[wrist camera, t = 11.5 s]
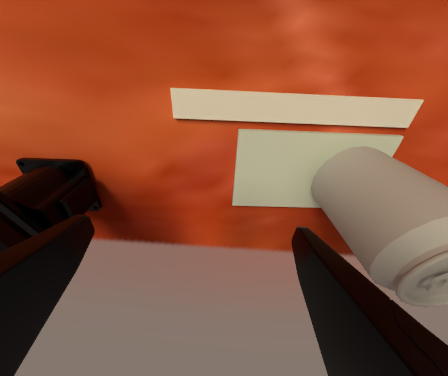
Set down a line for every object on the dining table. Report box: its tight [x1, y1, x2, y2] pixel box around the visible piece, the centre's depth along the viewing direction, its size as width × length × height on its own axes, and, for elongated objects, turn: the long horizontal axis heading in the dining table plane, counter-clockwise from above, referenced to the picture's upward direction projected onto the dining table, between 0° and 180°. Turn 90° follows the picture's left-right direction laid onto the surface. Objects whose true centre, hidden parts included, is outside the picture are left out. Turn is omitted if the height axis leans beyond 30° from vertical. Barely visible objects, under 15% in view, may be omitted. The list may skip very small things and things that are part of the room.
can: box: [311, 146, 448, 307], centre depth 15 cm, size 8×8×12 cm
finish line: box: [170, 88, 424, 128], centre depth 17 cm, size 22×2×1 cm, turn 88°
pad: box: [232, 129, 404, 208], centre depth 20 cm, size 16×9×1 cm, turn 88°
